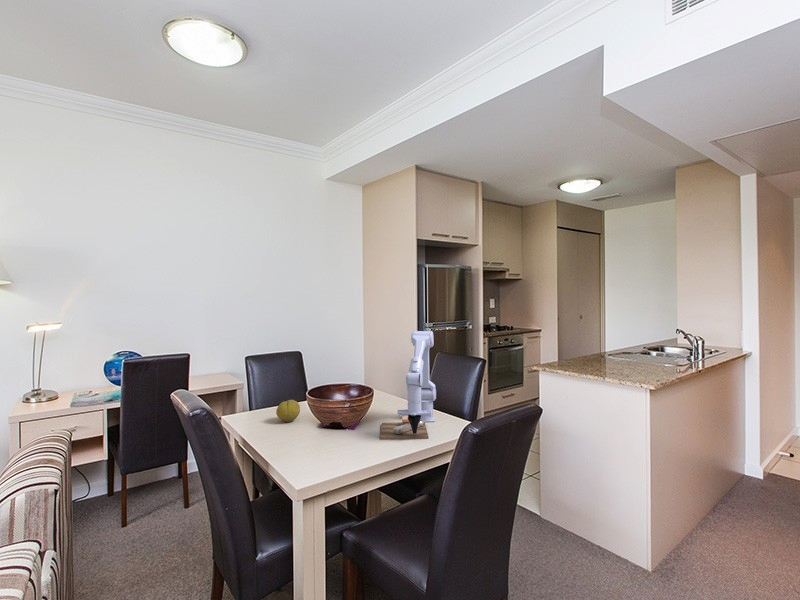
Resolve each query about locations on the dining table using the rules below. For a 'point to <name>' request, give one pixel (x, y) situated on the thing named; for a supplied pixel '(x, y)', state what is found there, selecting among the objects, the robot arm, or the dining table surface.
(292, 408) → the fruit
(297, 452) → the dining table surface
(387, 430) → the base plate
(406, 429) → the link
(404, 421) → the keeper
